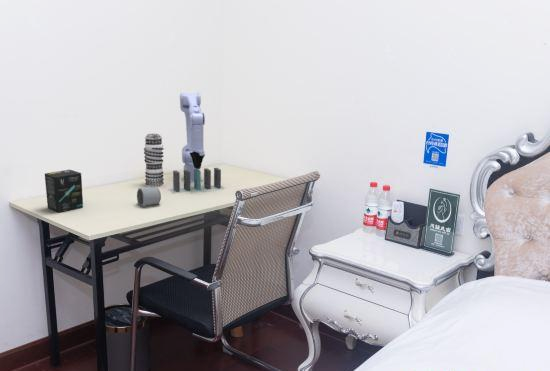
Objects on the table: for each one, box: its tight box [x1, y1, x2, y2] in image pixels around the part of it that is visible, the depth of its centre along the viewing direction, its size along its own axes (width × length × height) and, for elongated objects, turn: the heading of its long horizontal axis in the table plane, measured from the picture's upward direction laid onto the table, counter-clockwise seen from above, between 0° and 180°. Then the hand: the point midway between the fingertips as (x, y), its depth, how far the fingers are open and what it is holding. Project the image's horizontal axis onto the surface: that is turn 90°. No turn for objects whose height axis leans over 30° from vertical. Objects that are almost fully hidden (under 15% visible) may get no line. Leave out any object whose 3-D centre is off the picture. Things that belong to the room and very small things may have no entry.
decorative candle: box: [143, 133, 165, 188], centre depth 247 cm, size 9×9×25 cm
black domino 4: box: [213, 167, 222, 190], centre depth 250 cm, size 2×5×9 cm, turn 26°
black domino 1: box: [172, 170, 181, 192], centre depth 241 cm, size 2×5×9 cm, turn 26°
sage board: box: [167, 184, 227, 194], centre depth 247 cm, size 8×26×1 cm, turn 116°
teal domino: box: [193, 169, 202, 190], centre depth 245 cm, size 2×5×9 cm, turn 26°
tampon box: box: [44, 169, 84, 214], centre depth 210 cm, size 11×9×15 cm
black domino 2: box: [183, 169, 191, 191], centre depth 243 cm, size 2×5×9 cm, turn 26°
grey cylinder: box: [136, 187, 162, 207], centre depth 220 cm, size 11×8×8 cm
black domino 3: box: [203, 167, 212, 189], centre depth 248 cm, size 2×5×9 cm, turn 26°
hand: (197, 168), depth 244 cm, fingers closed
